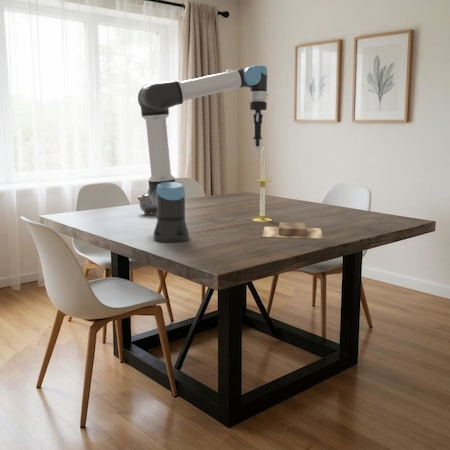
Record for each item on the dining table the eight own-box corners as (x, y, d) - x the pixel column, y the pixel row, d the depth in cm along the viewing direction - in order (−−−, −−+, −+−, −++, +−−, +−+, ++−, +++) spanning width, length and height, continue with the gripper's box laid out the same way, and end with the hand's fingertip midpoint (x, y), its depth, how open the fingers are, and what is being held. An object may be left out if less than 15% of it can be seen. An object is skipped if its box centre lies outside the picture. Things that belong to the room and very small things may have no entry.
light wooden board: (262, 237, 233) (262, 236, 233) (264, 227, 254) (264, 226, 254) (323, 239, 230) (323, 238, 230) (320, 229, 251) (320, 228, 251)
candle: (261, 218, 279) (262, 144, 272) (276, 220, 272) (278, 145, 265) (248, 220, 272) (249, 145, 265) (263, 223, 265) (264, 145, 258)
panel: (279, 229, 249) (278, 235, 235) (279, 222, 248) (278, 228, 235) (305, 229, 248) (306, 236, 234) (305, 223, 247) (306, 229, 233)
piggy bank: (163, 216, 281) (162, 194, 279) (135, 215, 283) (134, 194, 281) (168, 213, 292) (167, 192, 290) (141, 212, 294) (140, 191, 292)
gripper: (266, 100, 239) (265, 154, 243) (267, 101, 252) (266, 152, 256) (249, 100, 240) (248, 154, 244) (251, 101, 253) (250, 152, 257)
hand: (257, 153), depth 250 cm, fingers closed
